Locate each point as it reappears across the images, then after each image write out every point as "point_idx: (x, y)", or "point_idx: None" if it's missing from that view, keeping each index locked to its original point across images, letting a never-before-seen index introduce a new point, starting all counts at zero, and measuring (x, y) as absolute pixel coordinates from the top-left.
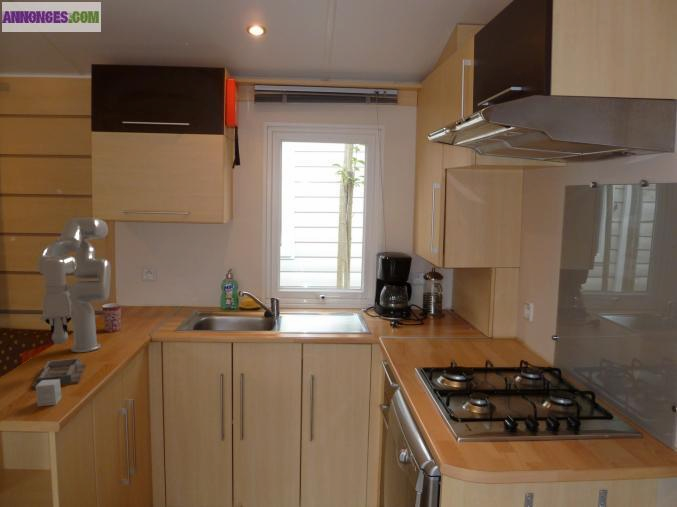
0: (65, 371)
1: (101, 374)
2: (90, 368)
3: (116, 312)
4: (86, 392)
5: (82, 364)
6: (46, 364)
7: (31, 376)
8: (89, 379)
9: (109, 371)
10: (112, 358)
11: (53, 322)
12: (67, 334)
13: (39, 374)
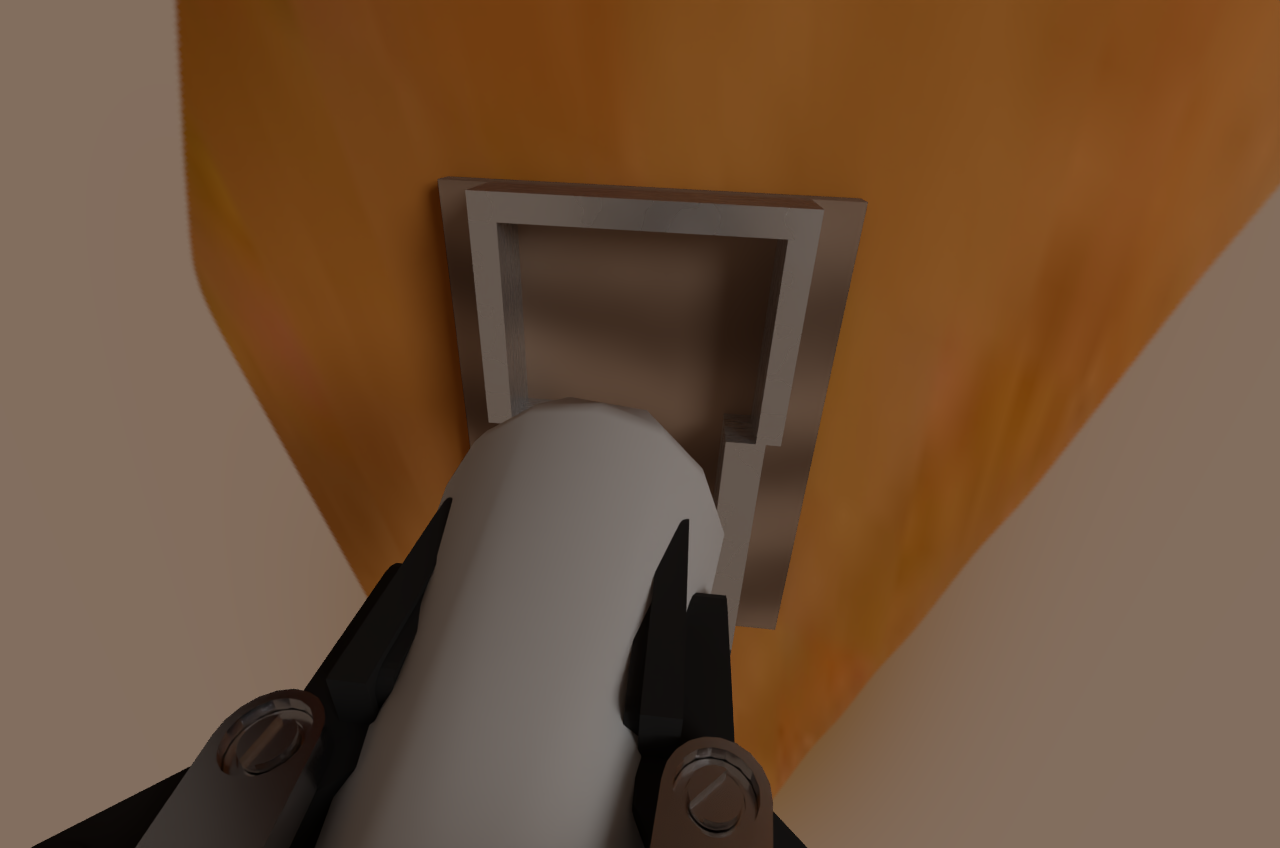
0: (673, 402)
1: (947, 519)
2: (890, 327)
3: None
4: (809, 744)
5: (829, 245)
6: (483, 321)
7: (403, 338)
8: (847, 580)
9: (1025, 478)
10: (1223, 11)
11: (307, 807)
12: (716, 564)
13: (469, 391)
